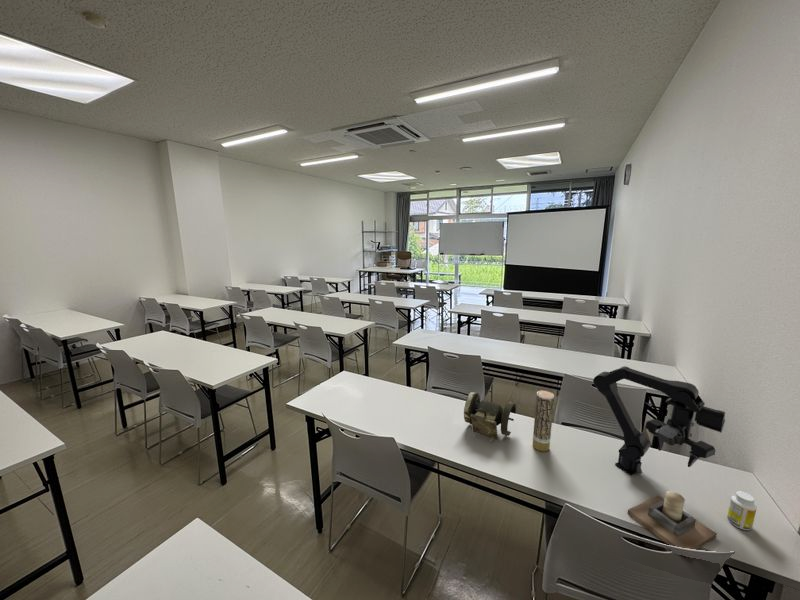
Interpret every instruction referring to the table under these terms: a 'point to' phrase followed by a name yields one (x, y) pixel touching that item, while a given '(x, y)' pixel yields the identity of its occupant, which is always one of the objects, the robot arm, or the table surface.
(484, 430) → the bench grinder
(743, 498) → the supplement bottle
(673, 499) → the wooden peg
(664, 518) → the collar socket
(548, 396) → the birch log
